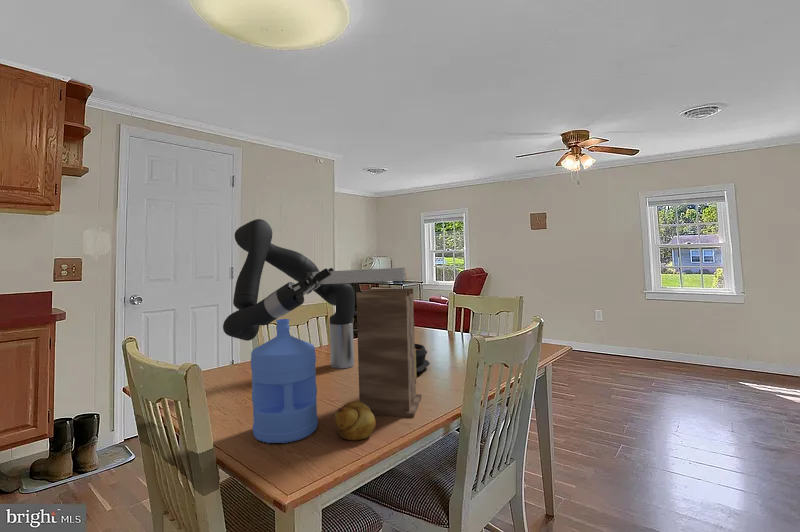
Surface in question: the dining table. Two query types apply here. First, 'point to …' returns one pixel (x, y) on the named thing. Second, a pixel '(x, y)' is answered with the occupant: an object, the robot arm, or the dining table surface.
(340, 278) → the steel bar
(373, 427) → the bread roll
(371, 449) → the dining table surface
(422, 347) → the casserole
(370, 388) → the stand
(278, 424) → the water jug
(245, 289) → the robot arm
